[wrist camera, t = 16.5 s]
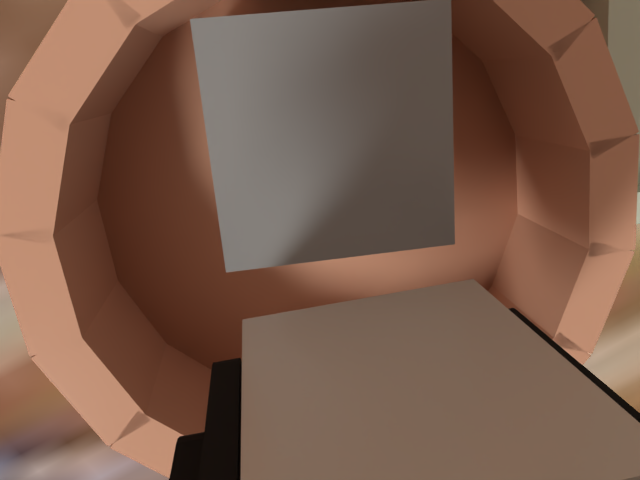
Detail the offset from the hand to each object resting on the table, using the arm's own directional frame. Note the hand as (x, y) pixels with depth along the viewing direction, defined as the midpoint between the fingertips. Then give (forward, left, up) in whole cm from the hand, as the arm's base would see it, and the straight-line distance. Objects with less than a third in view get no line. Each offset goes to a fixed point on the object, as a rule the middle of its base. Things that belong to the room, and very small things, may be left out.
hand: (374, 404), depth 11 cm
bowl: (-3, 0, -7) cm, 7 cm away
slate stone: (-5, 0, -6) cm, 8 cm away
